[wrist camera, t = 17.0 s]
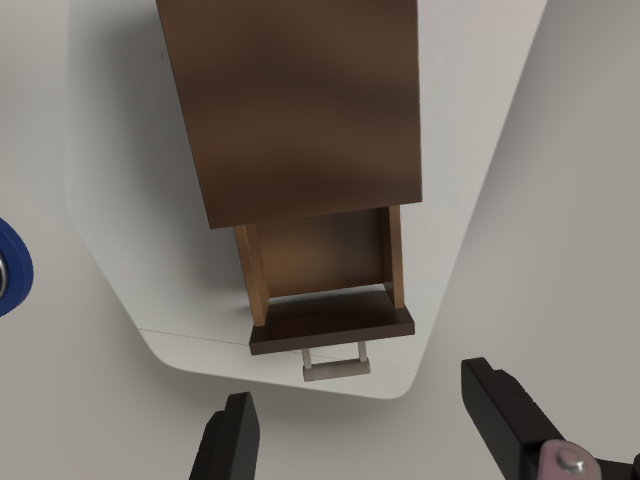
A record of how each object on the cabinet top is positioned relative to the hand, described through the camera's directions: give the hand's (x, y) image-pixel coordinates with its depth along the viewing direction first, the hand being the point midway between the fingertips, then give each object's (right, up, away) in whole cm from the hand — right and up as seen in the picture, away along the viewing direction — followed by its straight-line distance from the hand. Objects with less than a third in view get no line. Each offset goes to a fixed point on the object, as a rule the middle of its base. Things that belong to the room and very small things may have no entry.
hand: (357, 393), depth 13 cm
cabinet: (-3, +17, +15) cm, 23 cm away
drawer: (-1, +4, +19) cm, 19 cm away
